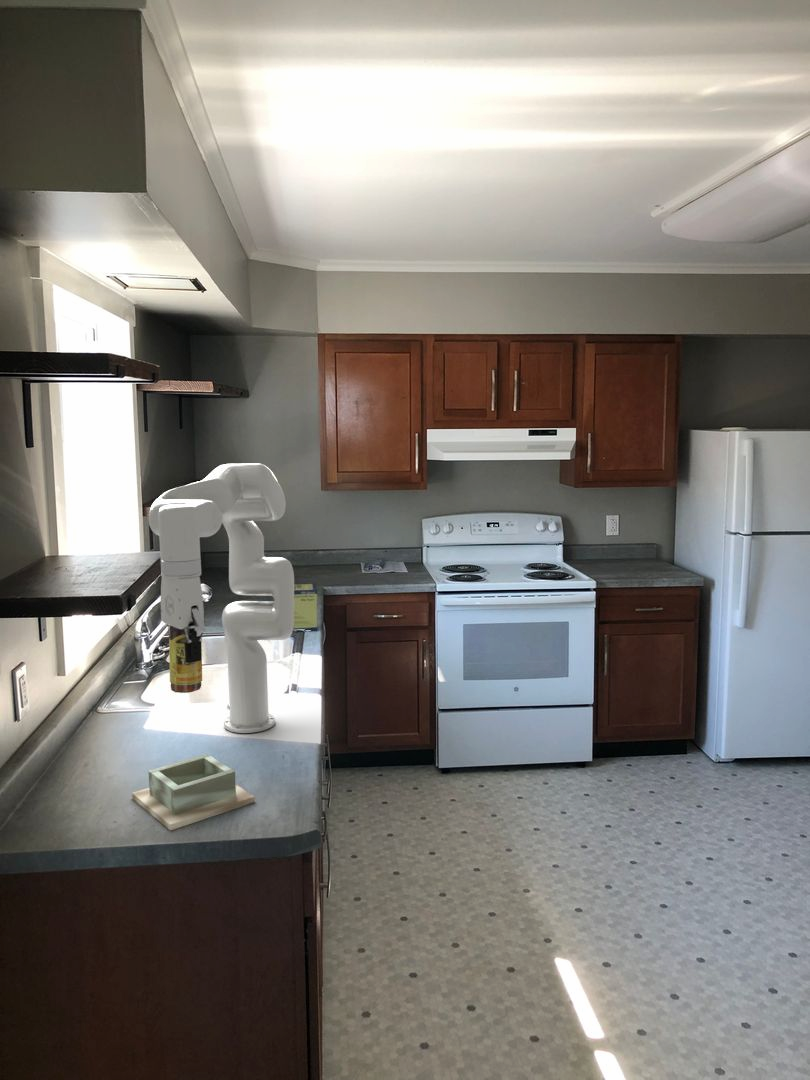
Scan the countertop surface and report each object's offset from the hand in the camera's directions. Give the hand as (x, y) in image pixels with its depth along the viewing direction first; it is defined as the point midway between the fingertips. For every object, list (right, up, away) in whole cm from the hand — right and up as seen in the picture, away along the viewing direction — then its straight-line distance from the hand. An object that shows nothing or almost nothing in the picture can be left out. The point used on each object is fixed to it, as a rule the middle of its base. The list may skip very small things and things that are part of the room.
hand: (185, 656), depth 168 cm
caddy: (0, -30, +4) cm, 30 cm away
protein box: (+4, -10, +143) cm, 143 cm away
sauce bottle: (0, -7, +1) cm, 7 cm away
